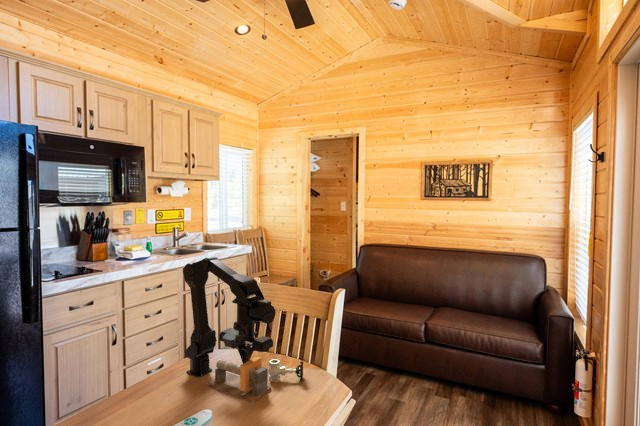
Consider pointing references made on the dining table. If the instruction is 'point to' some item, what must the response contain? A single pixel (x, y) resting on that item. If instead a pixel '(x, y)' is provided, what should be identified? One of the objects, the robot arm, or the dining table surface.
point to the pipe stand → (232, 382)
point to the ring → (244, 373)
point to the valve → (282, 370)
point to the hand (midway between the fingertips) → (245, 365)
